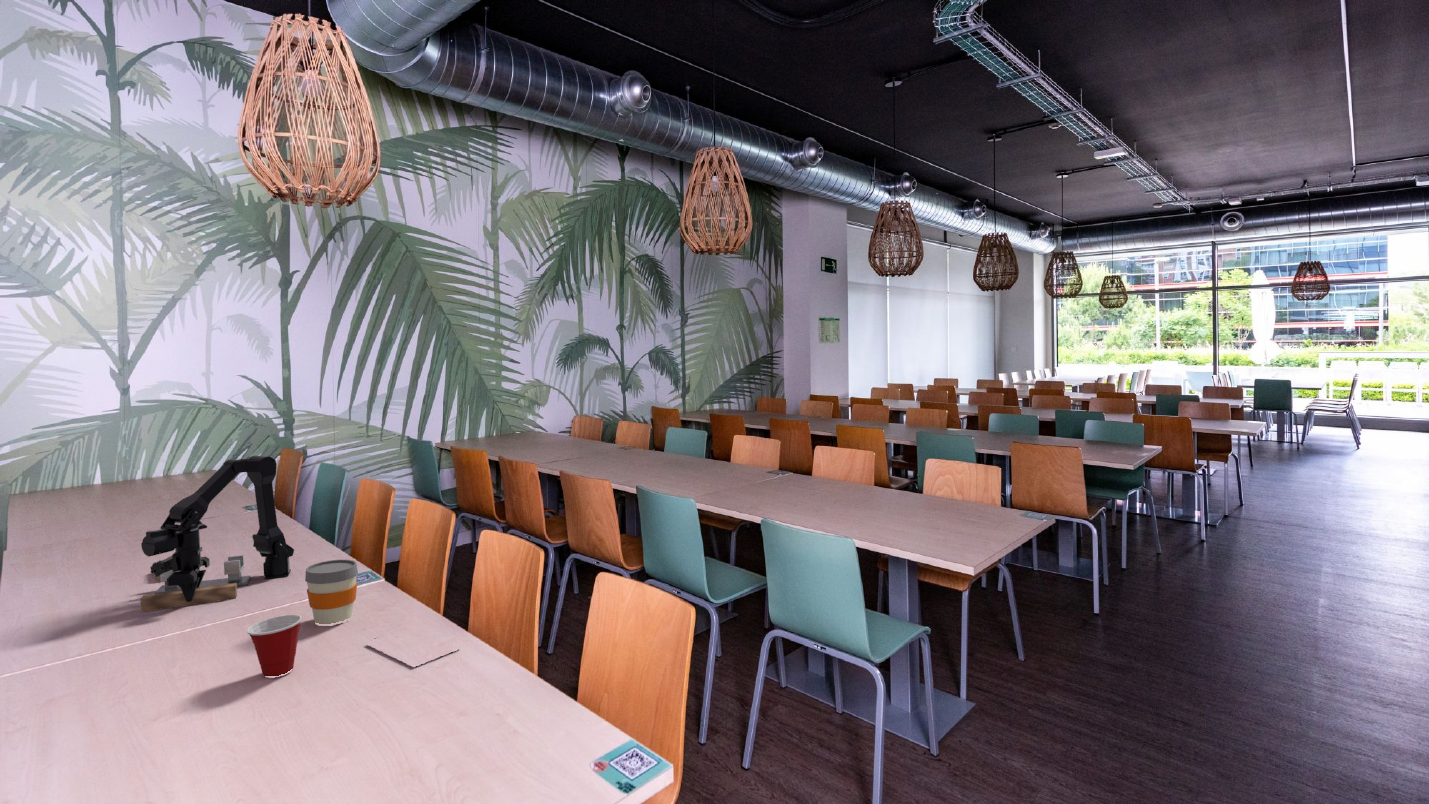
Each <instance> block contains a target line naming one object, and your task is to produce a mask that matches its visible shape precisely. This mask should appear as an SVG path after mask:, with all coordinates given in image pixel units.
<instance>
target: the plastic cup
mask: <svg viewBox="0 0 1429 804" xmlns="http://www.w3.org/2000/svg"><path fill="white" fill-rule="evenodd" d="M302 621H303V617H302V615H300V614H295V613H294V614H284V615H277V616H273V617H270V618H266V619H262V620H260V621H257V622H255V623H253V624H252V625H250V626H248V628H246V629H245V631H246V634H247V635H249V636H250V638H251V640H252V643H253V645H254V649H255V652H256V656H257V660H258V663H259V665H260V669H261V674H262V675H264V676H279V675H281V674H285V673H287V672H288V671H290V670H291V669H294V667H295V657H296V654H297V646H298V638H299V633H300V625H301V622H302ZM264 676H263V677H264Z"/></svg>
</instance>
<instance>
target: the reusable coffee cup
mask: <svg viewBox="0 0 1429 804" xmlns="http://www.w3.org/2000/svg"><path fill="white" fill-rule="evenodd" d="M358 574H359V571H358V566H357V562H356V561H355V560H351V559H331V560H327V561H321V562H317V563H313V564H311V565H309V566H307V568H306V569H305V579H304V580H305V582H306V583H307V585H306V586H307V589H306V594H307V597H308V598H307V599H308V605H309V607H310V609H311V610H312V615H313V619H314V620H313V621H314V623H315V622H316V623H319V624H331V623H336V622H339V621H344V620H345V619H348V618H350V617H351V616H352V617H353V613H354V605H355V604H354V603H355V601H356V599H357V590H358V588H357V587H358V582H357V575H358Z"/></svg>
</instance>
